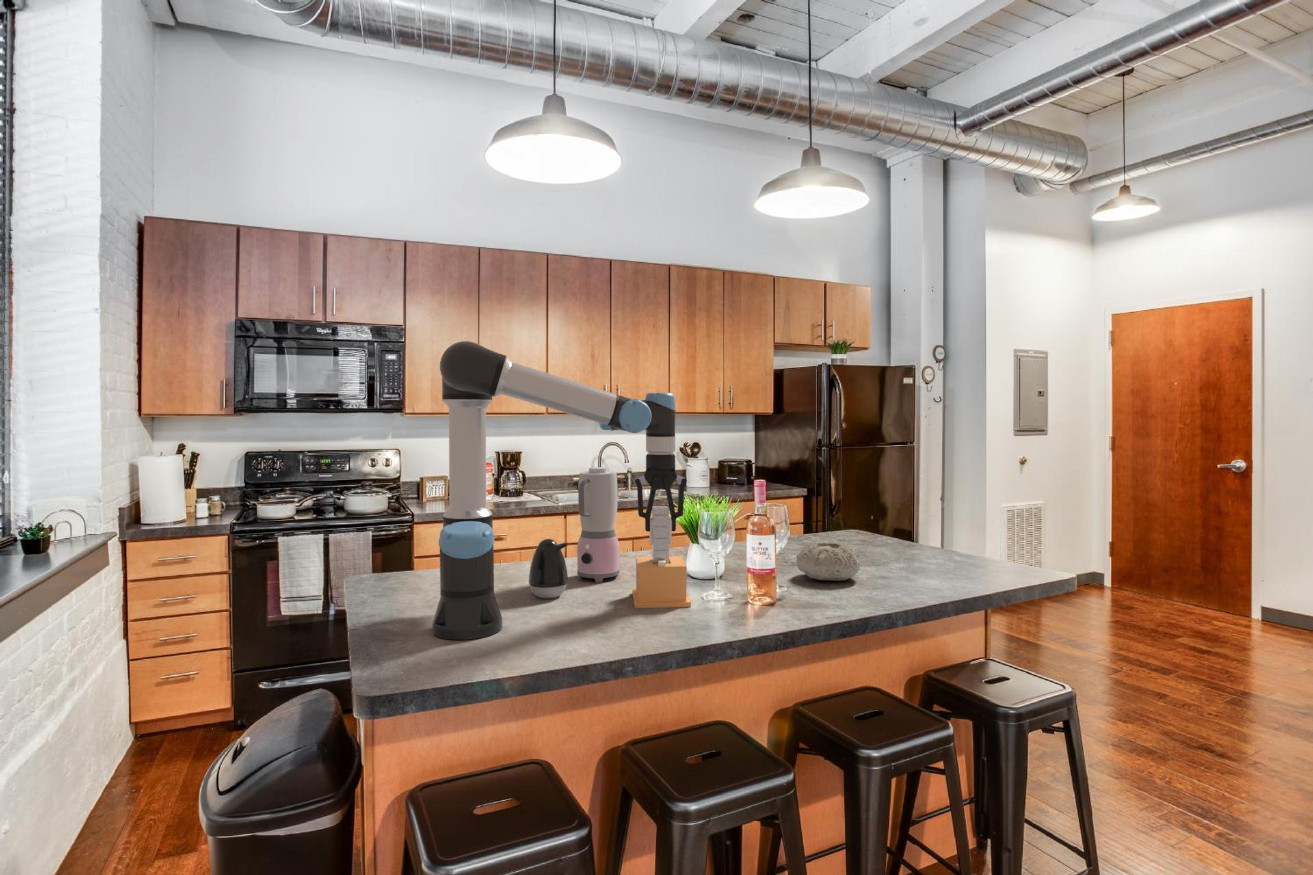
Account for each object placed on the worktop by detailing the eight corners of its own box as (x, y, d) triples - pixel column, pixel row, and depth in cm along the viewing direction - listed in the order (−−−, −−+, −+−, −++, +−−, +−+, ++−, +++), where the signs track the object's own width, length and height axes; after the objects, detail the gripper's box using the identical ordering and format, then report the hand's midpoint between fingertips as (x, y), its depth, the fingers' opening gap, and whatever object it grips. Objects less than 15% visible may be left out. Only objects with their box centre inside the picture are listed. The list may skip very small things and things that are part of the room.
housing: (690, 606, 179) (690, 563, 179) (634, 608, 178) (634, 564, 178) (684, 592, 193) (684, 551, 193) (632, 593, 192) (632, 552, 192)
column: (670, 593, 183) (670, 509, 182) (652, 593, 182) (652, 509, 181) (668, 587, 189) (668, 505, 188) (651, 587, 188) (651, 505, 187)
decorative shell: (863, 587, 198) (863, 551, 198) (797, 585, 201) (797, 549, 200) (855, 572, 216) (856, 539, 215) (795, 570, 218) (795, 537, 218)
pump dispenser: (561, 602, 183) (560, 543, 183) (522, 600, 186) (522, 541, 185) (573, 592, 193) (573, 536, 193) (537, 590, 195) (536, 534, 195)
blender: (592, 570, 218) (592, 465, 217) (627, 575, 212) (627, 467, 211) (562, 582, 204) (561, 469, 203) (598, 587, 198) (598, 471, 197)
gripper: (692, 452, 188) (691, 540, 189) (626, 452, 187) (626, 541, 188) (695, 454, 181) (695, 546, 182) (627, 454, 179) (627, 547, 181)
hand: (660, 543), depth 185 cm, fingers closed on column, 4 cm apart
